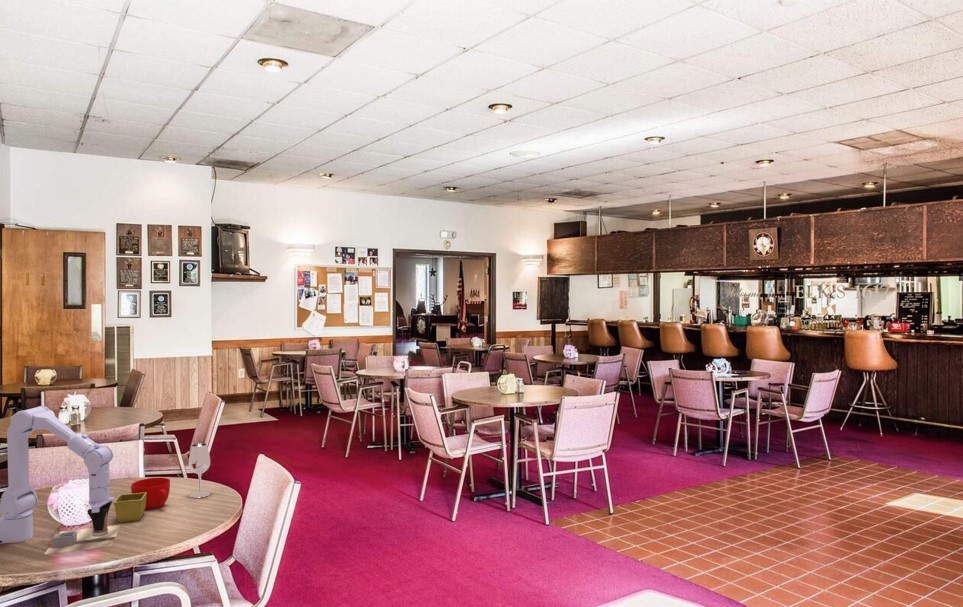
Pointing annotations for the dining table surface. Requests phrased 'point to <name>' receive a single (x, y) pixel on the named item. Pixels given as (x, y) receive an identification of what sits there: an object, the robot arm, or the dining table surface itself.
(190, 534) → the dining table surface
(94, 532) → the brown cylinder
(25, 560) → the dining table surface
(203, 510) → the dining table surface
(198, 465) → the wineglass
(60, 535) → the box
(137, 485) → the ceramic cup
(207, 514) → the dining table surface
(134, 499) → the flower pot
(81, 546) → the board
